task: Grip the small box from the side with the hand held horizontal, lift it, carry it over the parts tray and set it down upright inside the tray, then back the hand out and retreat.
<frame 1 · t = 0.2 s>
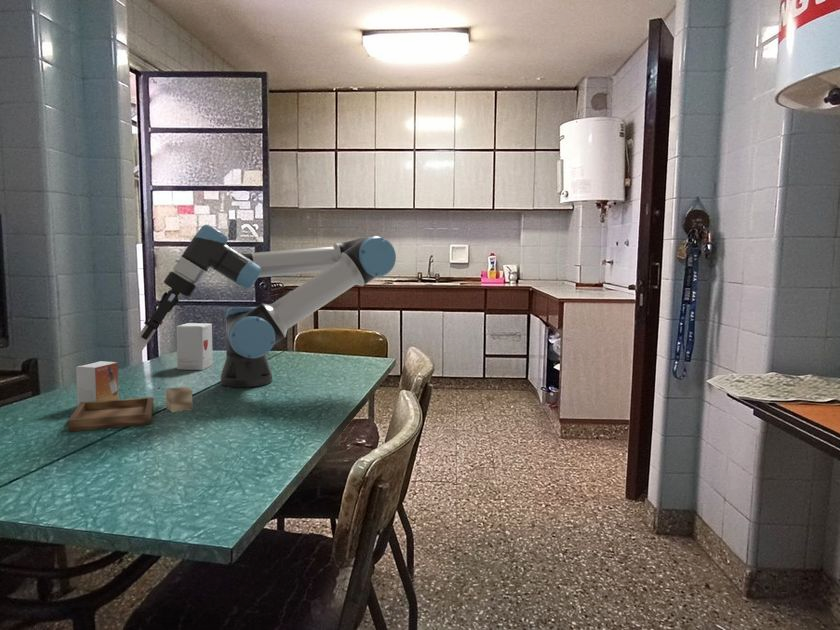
hand: (138, 345, 144), 15 cm above the table, tool tilted 35°, fingers open, 13 cm apart
beech block: (179, 409, 139), on the table
tray: (114, 418, 130), on the table
small box: (98, 405, 142), on the table
supplement box: (195, 368, 189), on the table
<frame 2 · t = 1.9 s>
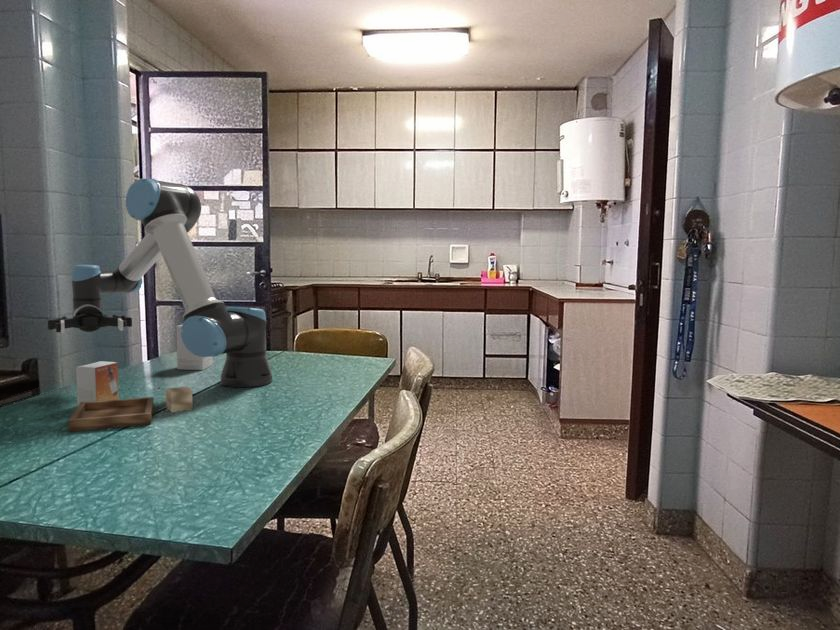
hand: (93, 326, 148), 19 cm above the table, tool horizontal, fingers open, 13 cm apart
nothing on the table moved.
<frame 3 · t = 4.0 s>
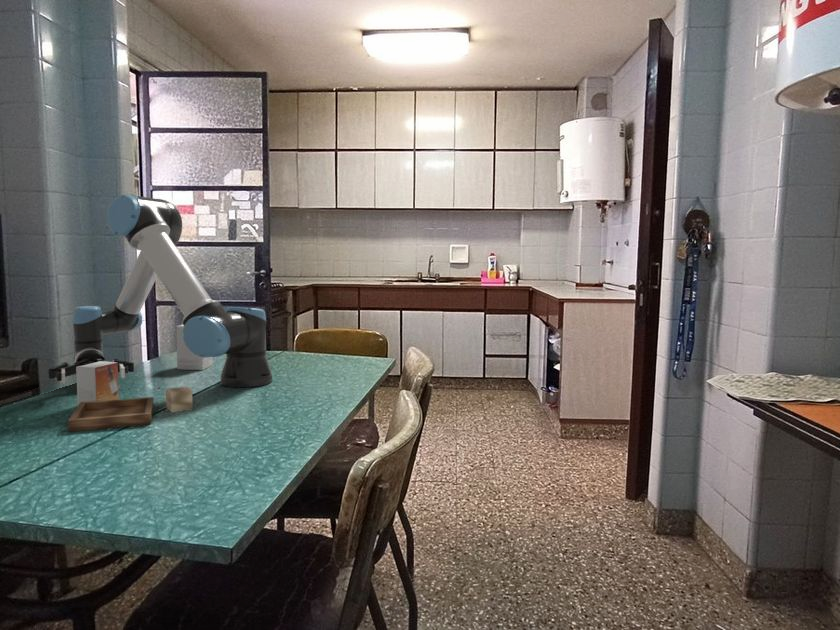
hand: (94, 375, 145), 6 cm above the table, tool horizontal, fingers open, 13 cm apart
nothing on the table moved.
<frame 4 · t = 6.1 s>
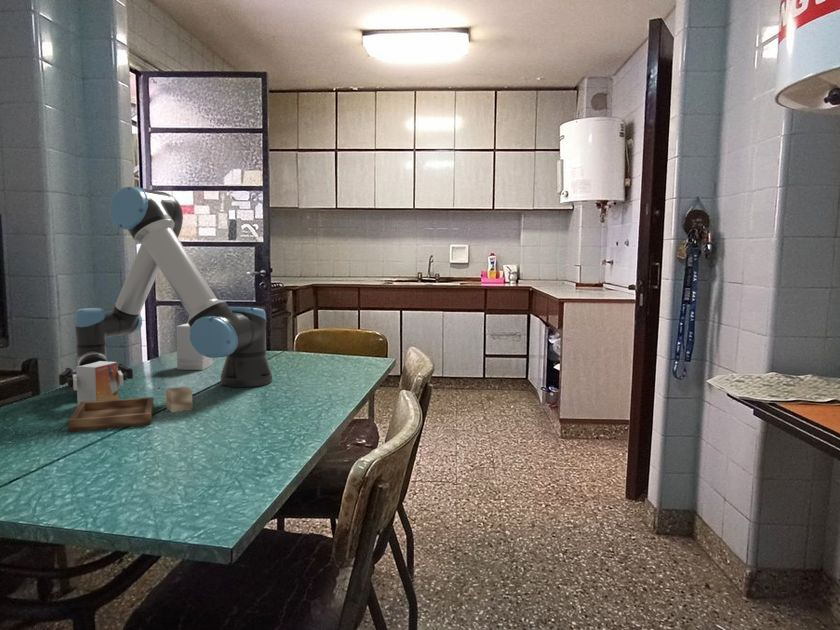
hand: (99, 382, 137), 7 cm above the table, tool horizontal, fingers closed on small box, 9 cm apart
small box: (98, 404, 142), on the table, touching gripper
everything else where it was.
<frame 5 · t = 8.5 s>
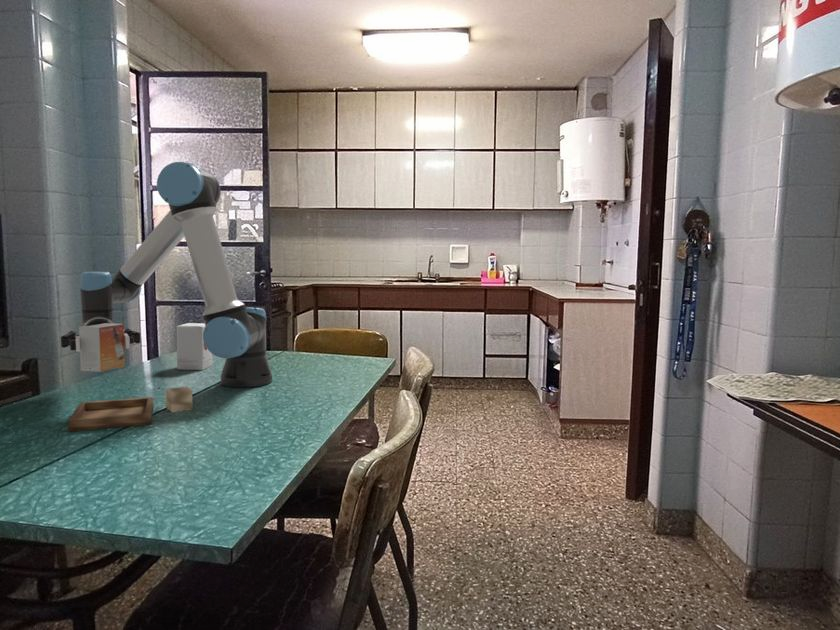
hand: (103, 344, 127), 18 cm above the table, tool horizontal, fingers closed on small box, 9 cm apart
small box: (103, 369, 131), point 11 cm above the table, touching gripper
everything else where it was.
when the fingers open (9 cm above the table, at t = 11.0 s): small box drops 1 cm, resting on tray.
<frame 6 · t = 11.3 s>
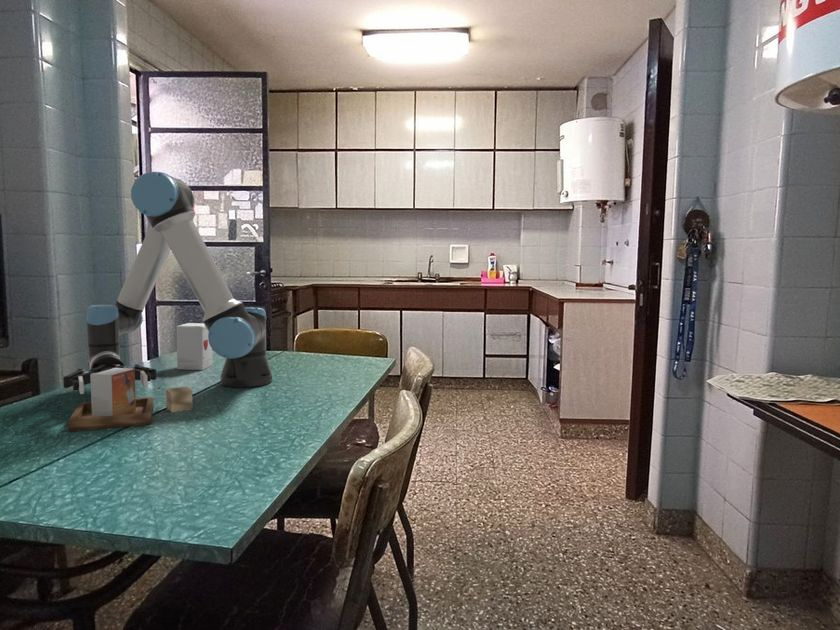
hand: (114, 384, 126), 9 cm above the table, tool horizontal, fingers open, 12 cm apart
small box: (114, 415, 130), point 1 cm above the table, touching tray
everything else where it was.
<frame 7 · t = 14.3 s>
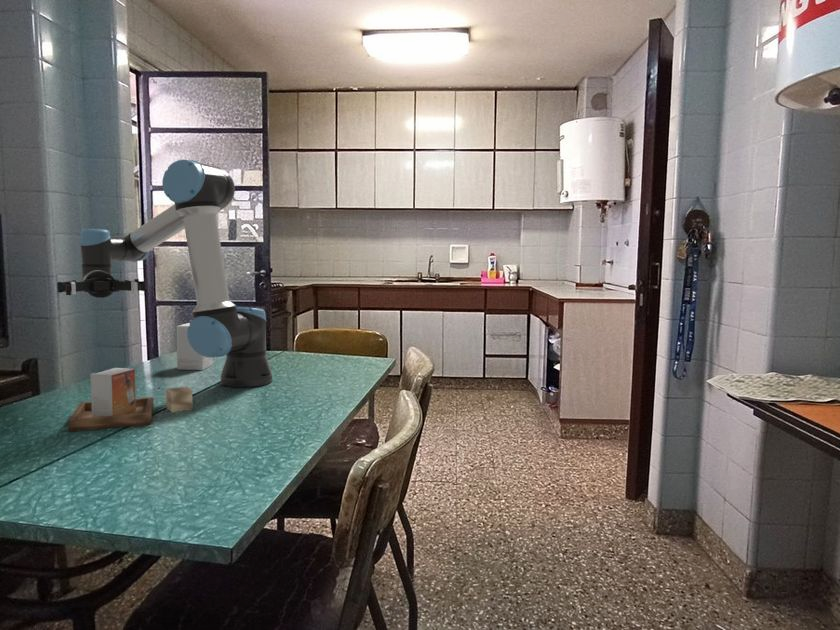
hand: (105, 288, 138), 30 cm above the table, tool horizontal, fingers open, 13 cm apart
nothing on the table moved.
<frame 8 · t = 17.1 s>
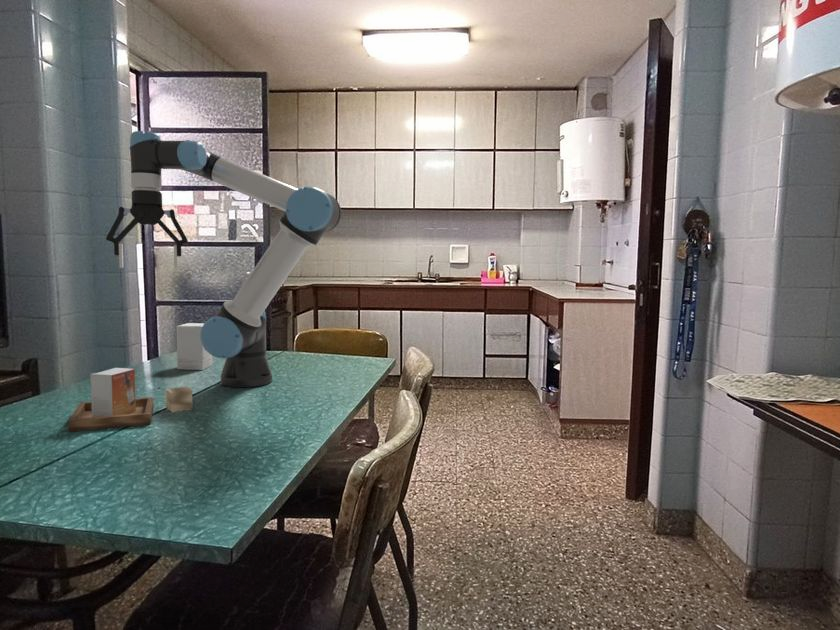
hand: (149, 268, 154), 35 cm above the table, tool pointing down, fingers open, 13 cm apart
nothing on the table moved.
at the end: small box inside the target area on the tray (0.1 cm from its centre), point 0.6 cm above the tray's base; small box tilted 0°; the gripper is holding nothing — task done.
